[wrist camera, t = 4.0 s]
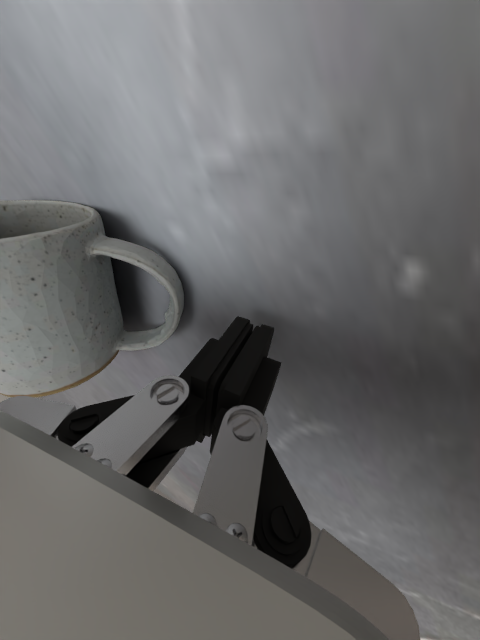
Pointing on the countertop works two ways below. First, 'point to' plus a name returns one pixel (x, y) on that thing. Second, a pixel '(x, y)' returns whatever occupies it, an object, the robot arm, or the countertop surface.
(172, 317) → the ceramic mug
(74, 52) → the countertop surface
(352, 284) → the countertop surface
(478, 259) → the countertop surface
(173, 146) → the countertop surface
